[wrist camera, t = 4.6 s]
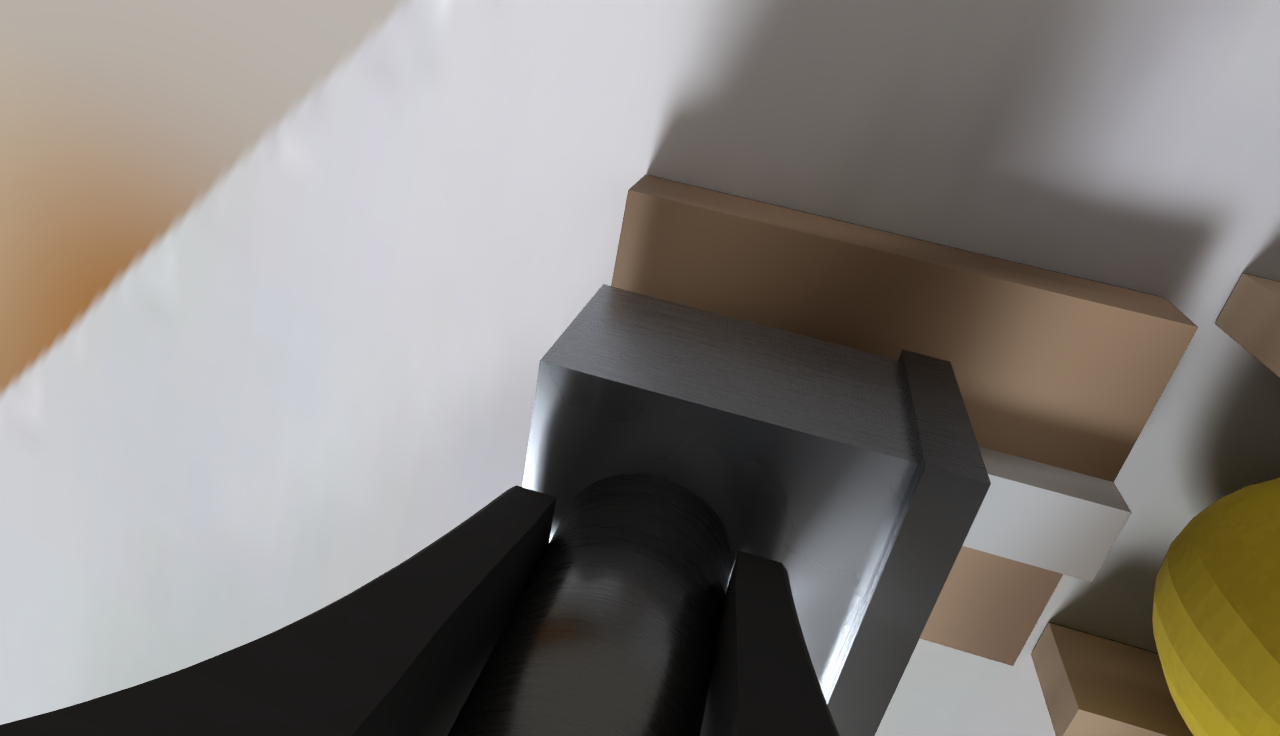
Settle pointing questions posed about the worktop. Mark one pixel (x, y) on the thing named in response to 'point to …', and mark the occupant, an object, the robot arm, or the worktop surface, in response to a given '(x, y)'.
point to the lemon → (1224, 615)
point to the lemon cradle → (1114, 672)
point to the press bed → (981, 360)
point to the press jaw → (723, 516)
